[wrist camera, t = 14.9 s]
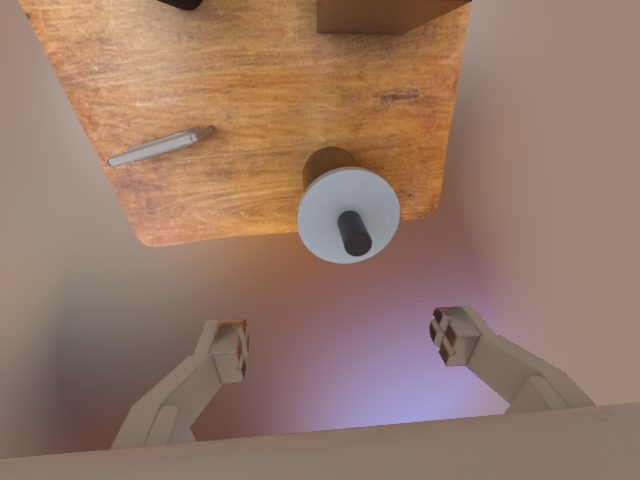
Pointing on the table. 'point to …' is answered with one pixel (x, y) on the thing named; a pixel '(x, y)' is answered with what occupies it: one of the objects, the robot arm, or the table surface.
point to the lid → (348, 215)
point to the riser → (380, 15)
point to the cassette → (160, 146)
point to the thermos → (326, 163)
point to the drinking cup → (183, 3)
